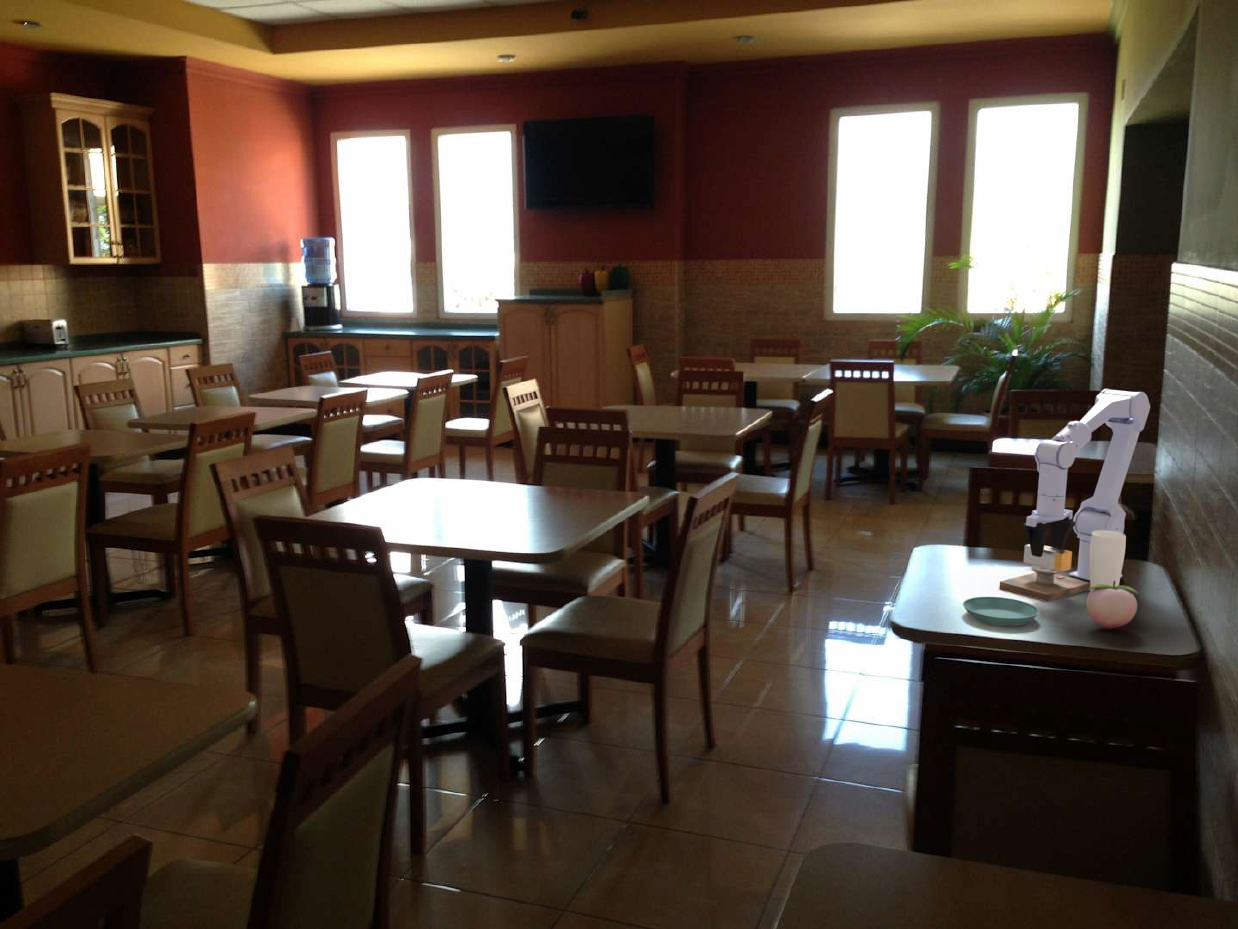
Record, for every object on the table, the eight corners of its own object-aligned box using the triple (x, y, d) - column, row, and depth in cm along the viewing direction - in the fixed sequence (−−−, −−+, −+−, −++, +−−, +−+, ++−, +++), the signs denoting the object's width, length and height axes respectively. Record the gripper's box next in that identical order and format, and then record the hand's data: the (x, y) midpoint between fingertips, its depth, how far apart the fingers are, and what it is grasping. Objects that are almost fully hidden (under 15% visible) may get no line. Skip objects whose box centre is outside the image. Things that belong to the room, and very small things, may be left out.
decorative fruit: (1095, 636, 202) (1099, 586, 200) (1078, 622, 210) (1082, 575, 208) (1144, 637, 201) (1148, 587, 199) (1126, 623, 209) (1130, 575, 208)
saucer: (1041, 614, 216) (1042, 601, 215) (1034, 635, 203) (1035, 622, 202) (967, 604, 222) (968, 592, 222) (957, 624, 209) (958, 611, 209)
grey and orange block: (1035, 564, 237) (1037, 542, 236) (1073, 573, 230) (1075, 550, 229) (1020, 568, 234) (1021, 545, 233) (1057, 577, 226) (1059, 554, 226)
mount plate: (1041, 576, 242) (1042, 560, 241) (1089, 589, 232) (1090, 572, 232) (999, 588, 233) (1000, 570, 233) (1047, 601, 223) (1048, 583, 223)
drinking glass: (1080, 601, 224) (1086, 533, 221) (1092, 594, 229) (1098, 528, 226) (1113, 608, 219) (1119, 539, 216) (1124, 601, 224) (1131, 534, 221)
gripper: (1054, 487, 236) (1049, 545, 239) (1015, 494, 228) (1011, 554, 231) (1083, 493, 231) (1078, 552, 233) (1044, 500, 222) (1039, 561, 225)
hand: (1046, 553), depth 231 cm, fingers open, 7 cm apart
